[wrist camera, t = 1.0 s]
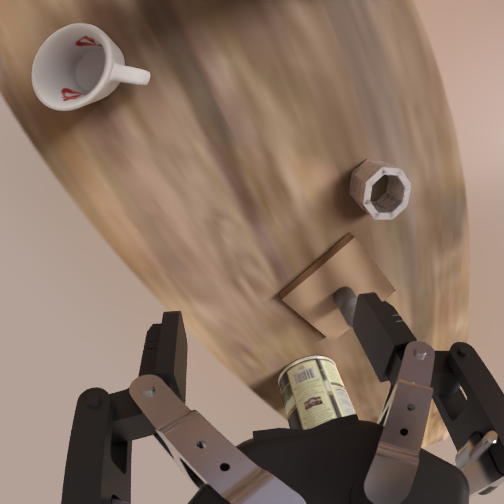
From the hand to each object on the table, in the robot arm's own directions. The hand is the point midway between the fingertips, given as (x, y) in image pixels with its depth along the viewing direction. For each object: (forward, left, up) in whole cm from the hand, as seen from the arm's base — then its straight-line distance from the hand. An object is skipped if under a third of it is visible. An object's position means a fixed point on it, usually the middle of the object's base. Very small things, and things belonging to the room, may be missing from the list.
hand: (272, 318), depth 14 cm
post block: (0, +21, -23) cm, 31 cm away
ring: (-12, +12, -23) cm, 28 cm away
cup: (0, -18, -23) cm, 30 cm away
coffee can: (+14, +32, -23) cm, 42 cm away
